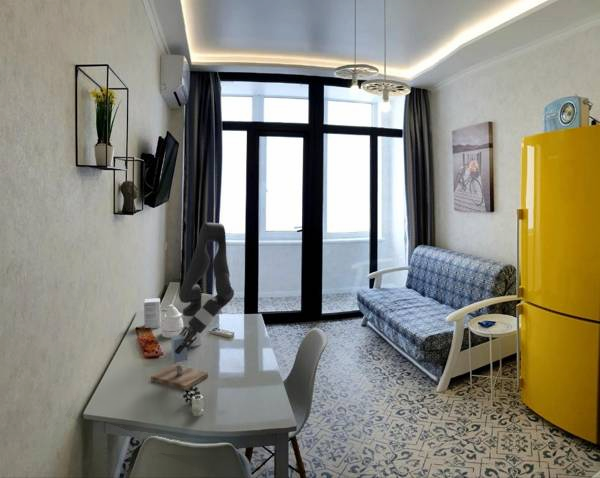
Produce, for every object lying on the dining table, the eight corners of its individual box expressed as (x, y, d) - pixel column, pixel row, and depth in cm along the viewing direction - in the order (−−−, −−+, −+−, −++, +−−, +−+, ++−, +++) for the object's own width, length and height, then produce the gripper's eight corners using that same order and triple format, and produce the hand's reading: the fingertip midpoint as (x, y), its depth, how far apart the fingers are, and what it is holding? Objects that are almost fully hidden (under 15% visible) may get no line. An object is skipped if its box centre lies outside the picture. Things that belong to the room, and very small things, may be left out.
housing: (174, 362, 169) (173, 340, 168) (171, 358, 174) (170, 336, 173) (187, 360, 172) (186, 337, 171) (184, 355, 177) (183, 334, 176)
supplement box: (145, 324, 250) (144, 298, 249) (160, 323, 253) (160, 297, 251) (144, 329, 241) (143, 302, 240) (160, 327, 244) (159, 301, 242)
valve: (208, 414, 145) (199, 400, 156) (208, 397, 145) (199, 384, 155) (190, 419, 142) (182, 404, 153) (190, 401, 142) (182, 388, 152)
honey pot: (180, 337, 226) (179, 307, 225) (158, 337, 227) (157, 307, 225) (187, 330, 239) (186, 301, 237) (166, 330, 239) (165, 301, 238)
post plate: (151, 380, 172) (150, 367, 172) (174, 368, 185) (174, 356, 184) (185, 390, 163) (185, 376, 163) (207, 376, 176) (207, 364, 175)
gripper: (191, 311, 181) (165, 341, 177) (199, 319, 169) (171, 351, 164) (202, 320, 184) (177, 350, 180) (211, 329, 172) (185, 361, 167)
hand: (175, 350), depth 172 cm, fingers closed on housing, 5 cm apart
